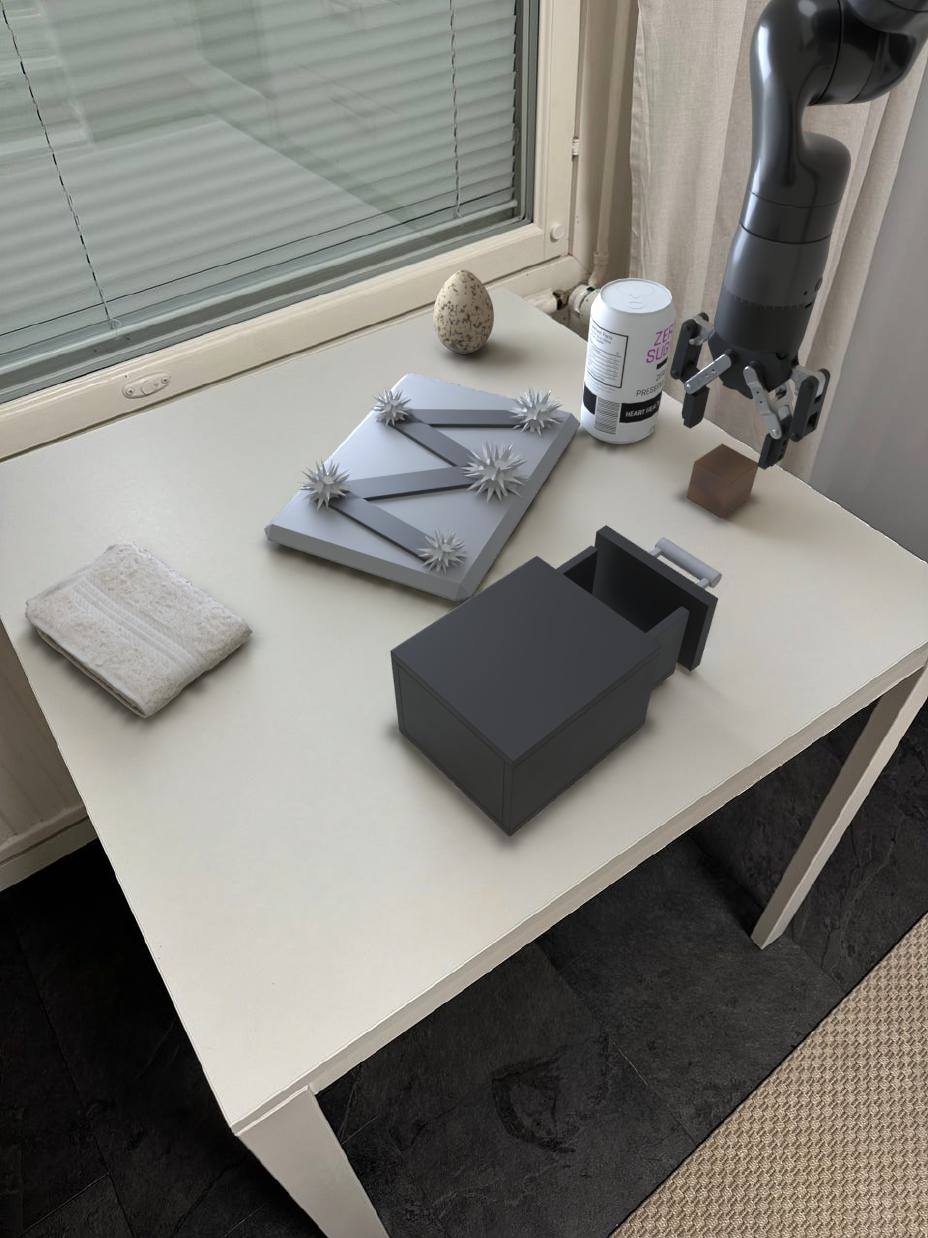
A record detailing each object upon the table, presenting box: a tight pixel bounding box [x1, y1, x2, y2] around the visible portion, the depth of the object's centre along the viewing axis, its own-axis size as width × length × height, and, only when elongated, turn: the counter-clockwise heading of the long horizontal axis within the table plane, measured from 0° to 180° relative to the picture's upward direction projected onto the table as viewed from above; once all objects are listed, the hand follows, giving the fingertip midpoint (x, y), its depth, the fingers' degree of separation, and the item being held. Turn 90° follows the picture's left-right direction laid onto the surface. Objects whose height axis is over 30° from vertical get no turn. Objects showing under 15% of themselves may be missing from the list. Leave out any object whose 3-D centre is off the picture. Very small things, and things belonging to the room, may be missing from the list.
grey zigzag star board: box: [263, 372, 581, 603], centre depth 88 cm, size 30×22×7 cm
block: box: [686, 443, 759, 519], centre depth 87 cm, size 4×4×4 cm
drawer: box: [555, 524, 723, 692], centre depth 71 cm, size 18×11×8 cm, turn 132°
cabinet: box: [389, 555, 662, 837], centre depth 66 cm, size 15×13×10 cm
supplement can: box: [580, 277, 677, 445], centre depth 92 cm, size 8×8×15 cm
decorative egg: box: [432, 269, 495, 355], centre depth 104 cm, size 7×7×10 cm
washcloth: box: [24, 540, 253, 719], centre depth 76 cm, size 12×18×3 cm, turn 52°
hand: (728, 444), depth 84 cm, fingers open, 8 cm apart
